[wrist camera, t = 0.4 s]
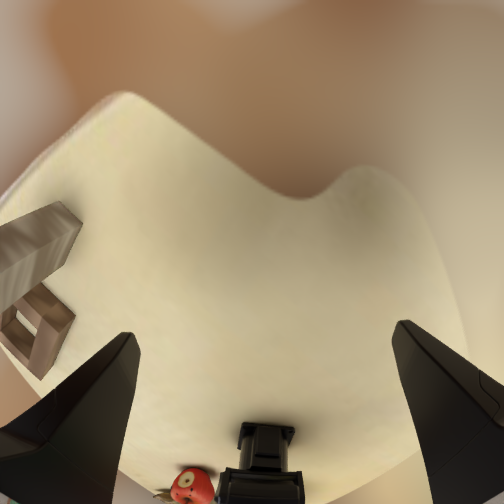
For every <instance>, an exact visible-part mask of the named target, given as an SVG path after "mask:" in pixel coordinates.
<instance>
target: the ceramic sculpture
mask: <svg viewBox="0 0 504 504" xmlns="http://www.w3.org/2000/svg"><path fill="white" fill-rule="evenodd" d="M214 497H215V496H214ZM153 498H157V499H160V500H161V501H163V502H164V503H167V504H181V503H179V502H177V501H175V500H174V499H173V498H172V497H171V493H161V494H157V495H155V496H153ZM209 504H217V503H216V502H215V501H214V498H213V500H212V501H211V502H210V503H209Z"/></svg>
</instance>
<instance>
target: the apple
mask: <svg viewBox="0 0 504 504" xmlns="http://www.w3.org/2000/svg"><path fill="white" fill-rule="evenodd" d="M214 494H215V491H214V487H213V485H212V483H211V480H210V477H209V475H208V474H207V473H205V472H204V471H202V470H200V469H198V468H191V469H186V470H184V471H183V472H182V473H181V474H179V475H178V476H177V478H176V479H175V480H174V482H173V484H172V486H171V497H172V498H173V499H174V500H175V501H177V502H179V503H181V504H209V503H210V502H211V501H212V500H213V498H214Z"/></svg>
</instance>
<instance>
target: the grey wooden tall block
mask: <svg viewBox="0 0 504 504" xmlns="http://www.w3.org/2000/svg"><path fill="white" fill-rule="evenodd" d="M82 225H83V223H81V222H80V221H79V220H78V219H77V218H76V217H75V216H74V215H73V214H72V213H71V212H70V211H69V210H68V209H67V208H66V207H65V206H64V205H63V204H62V203H61V202H60V201H58V202H55V203H53V204H50V205H48V206H45V207H43V208H40V209H38V210H35V211H33V212H31V213H28V214H26V215H24V216H22V217H19V218H17V219H15V220H13V221H10V222H8V223H6V224H4V225H2V226H0V314H1V313H2V312H4V311H5V310H6V309H7V308H8V307H10V306H11V305H12V304H13V303H15V302H16V301H17V300H18V299H19V298H21V297H22V296H23V295H24V294H26V293H27V292H28V291H30V290H31V289H32V288H33V287H35V286H36V285H37V284H39V283H40V282H41V281H43V280H44V279H45V278H46V277H48V276H49V275H51V274H52V273H53V272H55V271H56V270H57V269H59V268H60V267H61V266H63V265H64V263H65V261H66V259H67V256H68V254H69V252H70V250H71V248H72V246H73V243H74V241H75V239H76V237H77V235H78V233H79V231H80V229H81V227H82Z"/></svg>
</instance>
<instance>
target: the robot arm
mask: <svg viewBox="0 0 504 504" xmlns="http://www.w3.org/2000/svg"><path fill="white" fill-rule="evenodd" d="M392 346H393V351H394V355H395V359H396V363H397V368H398V372H399V377H400V381H401V384H402V387H403V390H404V393H405V396H406V399H407V402H408V406H409V409H410V412H411V415H412V419H413V422H414V426H415V429H416V433H417V436H418V440H419V443H420V447H421V451H422V455H423V458H424V462H425V467H426V471H427V476H428V481H429V485H430V490H431V494H432V500H433V504H504V386H503V385H501V384H500V383H498V382H497V381H495V380H494V379H492V378H491V377H490V376H488V375H487V374H485V373H484V372H483V371H481V370H479V369H478V368H477V367H476V366H474V365H473V364H472V363H470V362H469V361H467V360H466V359H465V358H463V357H462V356H461V355H459V354H458V353H456V352H455V351H453V350H452V349H451V348H449V347H448V346H446V345H445V344H444V343H442V342H441V341H439V340H438V339H436V338H435V337H434V336H432V335H431V334H429V333H428V332H426V331H425V330H424V329H422V328H421V327H419V326H418V325H416V324H415V323H413V322H412V321H410V320H400V321H398V322H397V324H396V327H395V330H394V333H393V336H392ZM140 355H141V352H140V348H139V345H138V343H137V340H136V338H135V335H134V334H133V333H132V332H121V333H120V334H119V335H117V336H116V337H115V338H114V339H113V340H111V341H110V342H109V343H108V344H107V345H105V346H104V347H103V348H102V349H101V350H99V351H98V352H97V353H96V354H95V355H93V356H92V357H91V358H90V359H89V360H87V361H86V362H85V363H84V364H83V365H81V366H80V367H79V368H78V369H77V370H76V371H74V372H73V373H72V374H71V375H70V376H68V377H67V378H66V379H65V380H64V381H63V382H61V383H60V384H59V385H58V386H57V387H56V388H55V389H53V390H52V391H51V392H50V393H48V394H47V395H46V396H45V397H44V398H42V399H41V400H40V401H39V402H37V403H36V404H35V405H33V406H32V407H31V408H29V409H28V410H27V411H25V412H24V413H23V414H21V415H20V416H18V417H17V418H16V419H14V420H13V421H11V422H10V423H8V424H7V425H5V426H4V427H1V428H0V504H112V498H113V491H114V486H115V480H116V475H117V470H118V465H119V460H120V455H121V450H122V445H123V441H124V436H125V432H126V427H127V423H128V419H129V415H130V410H131V406H132V402H133V398H134V394H135V389H136V382H137V375H138V368H139V362H140ZM294 433H295V428H293V427H281V426H269V425H259V424H250V423H243V424H242V425H241V430H240V436H239V441H238V447H237V449H239V450H241V454H240V462H239V469H232V468H229V467H226V471H225V472H221V473H220V479H219V484H218V487H217V491H216V494H215V497H214V501H215V502H216V503H217V504H305V492H304V485H303V477H302V471H297V472H288V447H289V444H290V442H291V440H292V438H293V435H294Z"/></svg>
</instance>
